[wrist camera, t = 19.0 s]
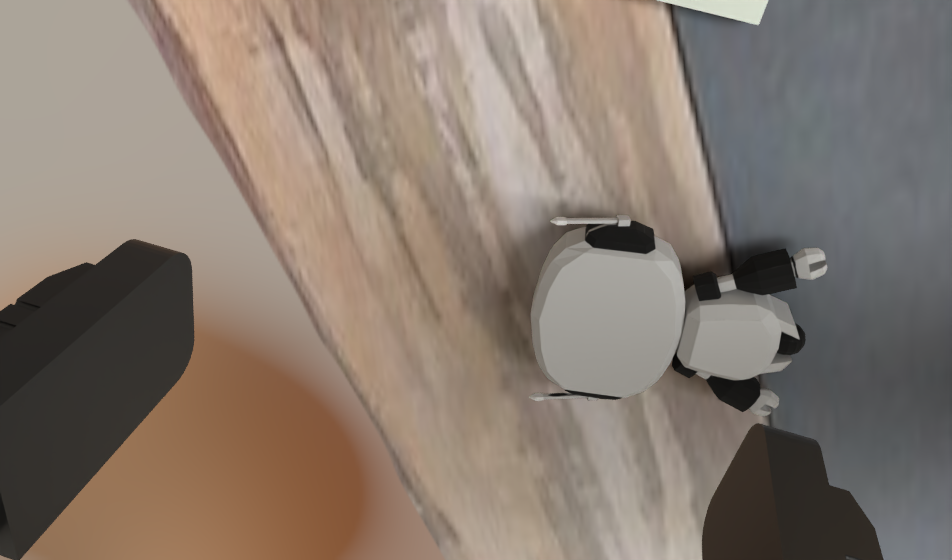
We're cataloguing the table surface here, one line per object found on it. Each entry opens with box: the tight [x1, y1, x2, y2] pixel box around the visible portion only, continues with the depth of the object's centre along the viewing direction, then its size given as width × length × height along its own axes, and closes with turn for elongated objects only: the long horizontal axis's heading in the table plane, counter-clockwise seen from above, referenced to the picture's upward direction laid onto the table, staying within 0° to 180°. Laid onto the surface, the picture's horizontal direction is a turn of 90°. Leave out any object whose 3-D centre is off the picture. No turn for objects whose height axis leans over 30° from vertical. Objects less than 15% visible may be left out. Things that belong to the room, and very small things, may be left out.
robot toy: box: [529, 215, 827, 417], centre depth 42 cm, size 12×4×15 cm
